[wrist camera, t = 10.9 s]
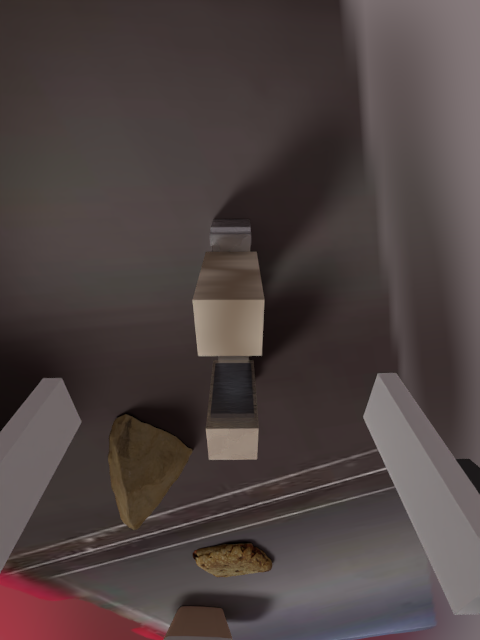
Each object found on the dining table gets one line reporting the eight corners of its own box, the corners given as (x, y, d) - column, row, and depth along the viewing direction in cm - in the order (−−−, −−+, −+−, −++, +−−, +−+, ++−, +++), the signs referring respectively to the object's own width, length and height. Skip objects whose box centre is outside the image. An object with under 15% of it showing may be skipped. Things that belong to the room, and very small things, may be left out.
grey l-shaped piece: (251, 385, 34) (256, 472, 25) (217, 385, 34) (210, 473, 25) (255, 219, 24) (265, 267, 15) (207, 219, 24) (189, 267, 15)
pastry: (205, 531, 55) (204, 550, 53) (288, 544, 59) (290, 562, 56) (182, 565, 64) (180, 582, 61) (255, 574, 67) (256, 591, 65)
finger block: (209, 301, 25) (198, 362, 18) (205, 251, 23) (192, 300, 16) (255, 301, 25) (261, 361, 18) (256, 251, 23) (264, 299, 16)
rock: (81, 430, 35) (110, 485, 39) (95, 477, 28) (128, 538, 32) (164, 387, 40) (182, 439, 44) (192, 418, 33) (211, 477, 37)
